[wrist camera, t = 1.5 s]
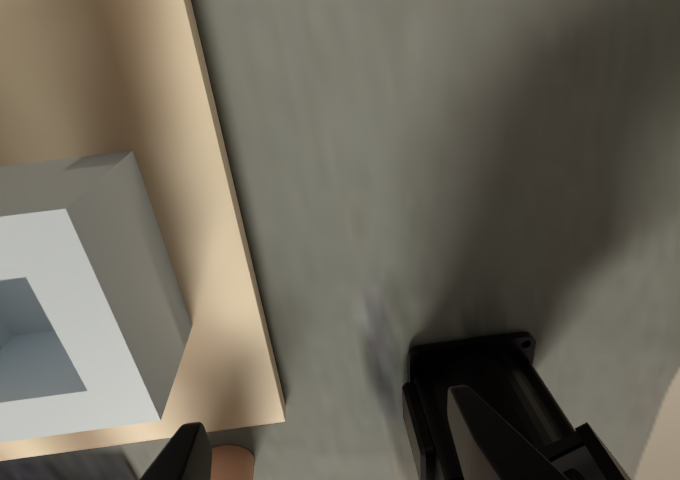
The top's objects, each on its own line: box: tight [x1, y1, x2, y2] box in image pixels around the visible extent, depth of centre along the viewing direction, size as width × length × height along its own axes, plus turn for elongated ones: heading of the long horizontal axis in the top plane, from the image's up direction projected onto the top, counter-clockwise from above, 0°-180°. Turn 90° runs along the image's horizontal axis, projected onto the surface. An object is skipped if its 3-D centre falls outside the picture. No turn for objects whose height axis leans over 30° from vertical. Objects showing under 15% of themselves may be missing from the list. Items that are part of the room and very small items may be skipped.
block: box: [0, 151, 193, 443], centre depth 15 cm, size 8×8×5 cm
